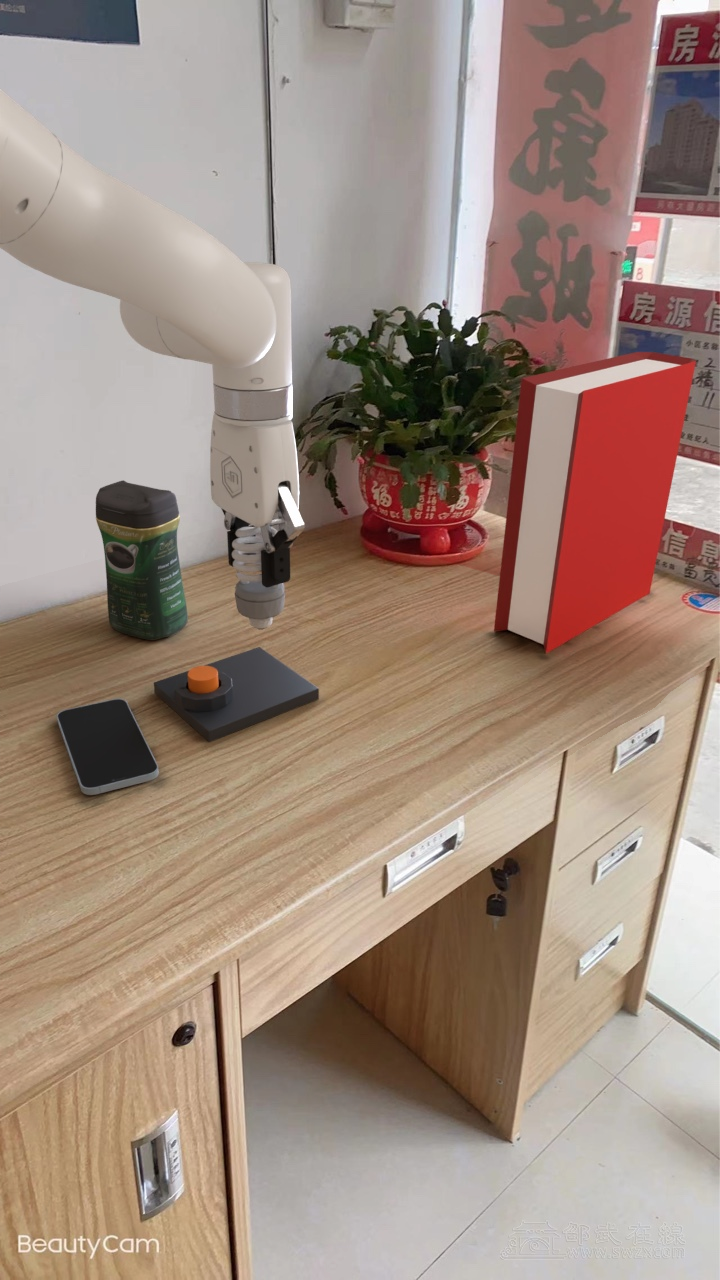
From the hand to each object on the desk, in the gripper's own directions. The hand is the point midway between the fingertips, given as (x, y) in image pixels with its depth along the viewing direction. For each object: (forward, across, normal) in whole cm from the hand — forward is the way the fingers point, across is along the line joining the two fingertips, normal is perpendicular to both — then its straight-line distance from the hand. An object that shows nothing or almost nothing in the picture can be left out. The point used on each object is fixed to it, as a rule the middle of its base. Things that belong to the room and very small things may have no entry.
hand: (259, 571), depth 94 cm
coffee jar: (+14, -21, -4) cm, 26 cm away
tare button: (+12, 0, -8) cm, 14 cm away
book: (+14, +9, +45) cm, 48 cm away
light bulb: (+7, 0, 0) cm, 7 cm away
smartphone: (+14, +1, -19) cm, 24 cm away
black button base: (+14, 0, -4) cm, 15 cm away
